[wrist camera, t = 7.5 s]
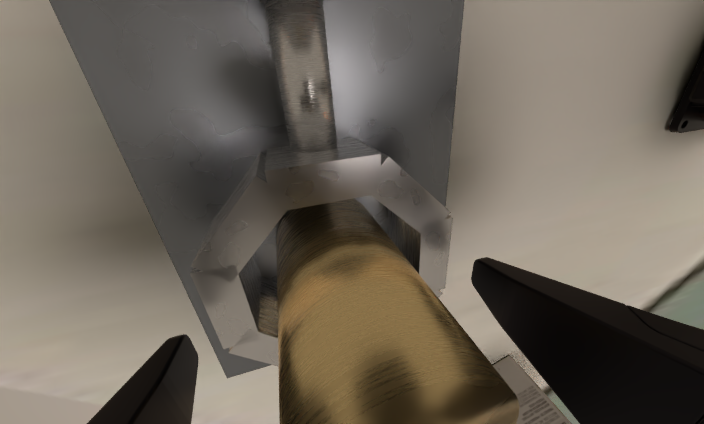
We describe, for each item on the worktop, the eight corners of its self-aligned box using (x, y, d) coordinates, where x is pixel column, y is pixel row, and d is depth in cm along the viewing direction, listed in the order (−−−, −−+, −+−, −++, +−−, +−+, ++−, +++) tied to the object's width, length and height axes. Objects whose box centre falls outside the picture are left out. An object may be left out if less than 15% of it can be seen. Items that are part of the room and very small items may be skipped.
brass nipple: (372, 185, 11) (545, 345, 4) (375, 267, 13) (497, 474, 6) (265, 203, 10) (248, 453, 3) (286, 289, 12) (305, 563, 5)
